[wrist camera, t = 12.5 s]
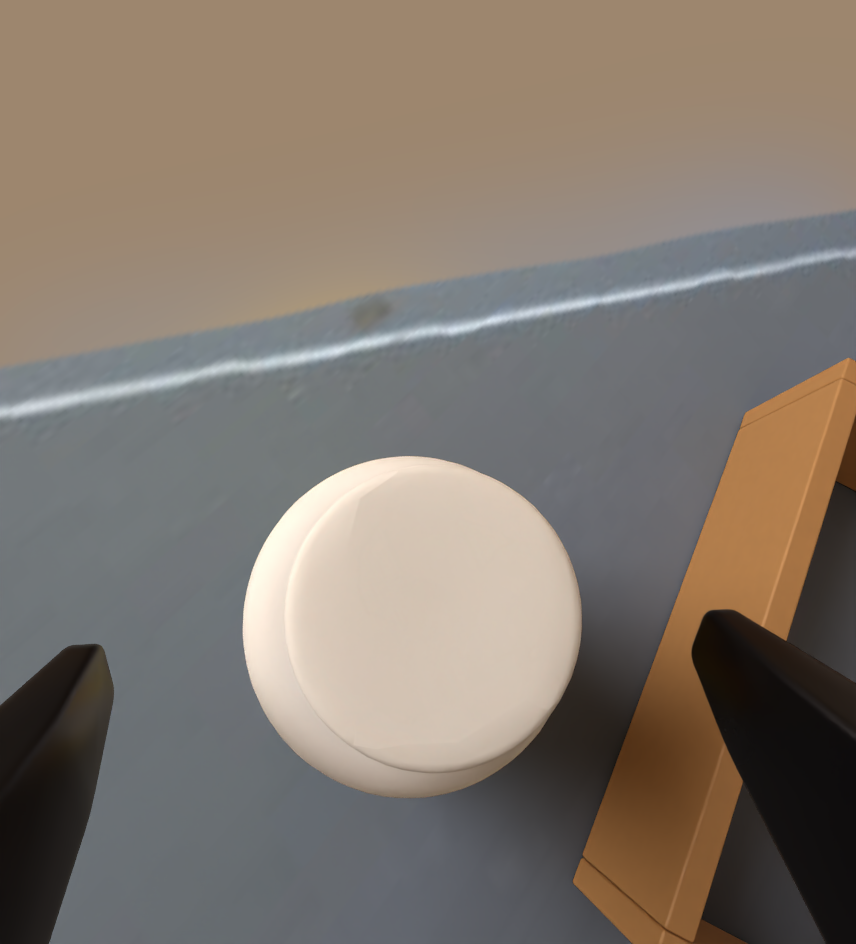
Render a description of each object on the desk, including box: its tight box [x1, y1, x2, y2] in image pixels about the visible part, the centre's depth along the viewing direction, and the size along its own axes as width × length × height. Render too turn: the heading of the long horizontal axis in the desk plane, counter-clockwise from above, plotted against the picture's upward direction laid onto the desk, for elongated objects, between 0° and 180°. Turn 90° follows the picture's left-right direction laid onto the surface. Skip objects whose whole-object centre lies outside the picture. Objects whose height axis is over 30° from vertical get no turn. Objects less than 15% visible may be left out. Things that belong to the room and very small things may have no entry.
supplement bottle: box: [243, 456, 582, 798], centre depth 13 cm, size 6×6×10 cm
